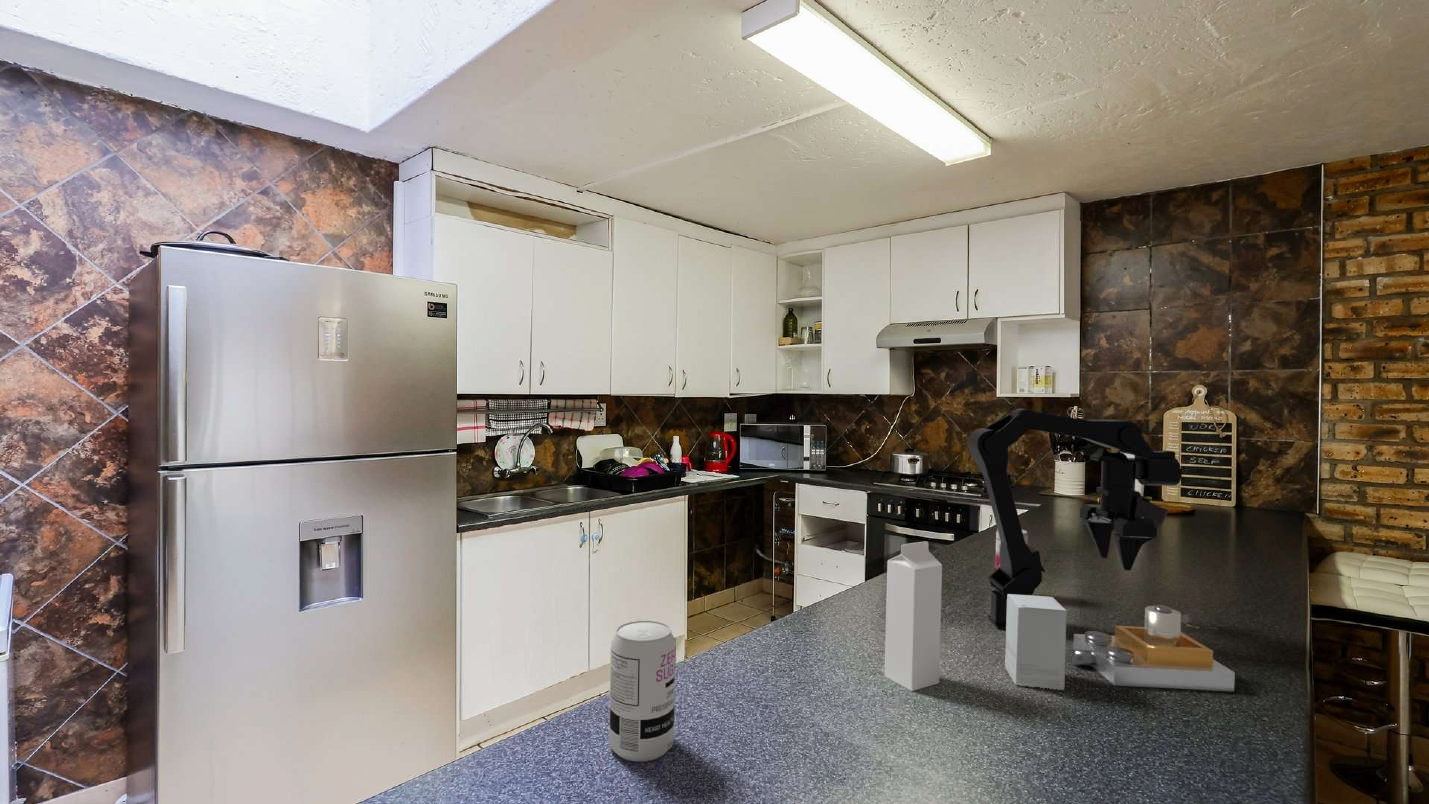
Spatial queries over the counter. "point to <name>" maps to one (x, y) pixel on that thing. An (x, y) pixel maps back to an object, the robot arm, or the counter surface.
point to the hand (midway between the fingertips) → (1115, 563)
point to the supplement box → (1035, 641)
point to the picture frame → (1151, 661)
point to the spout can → (1163, 626)
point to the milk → (913, 617)
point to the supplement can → (642, 690)
